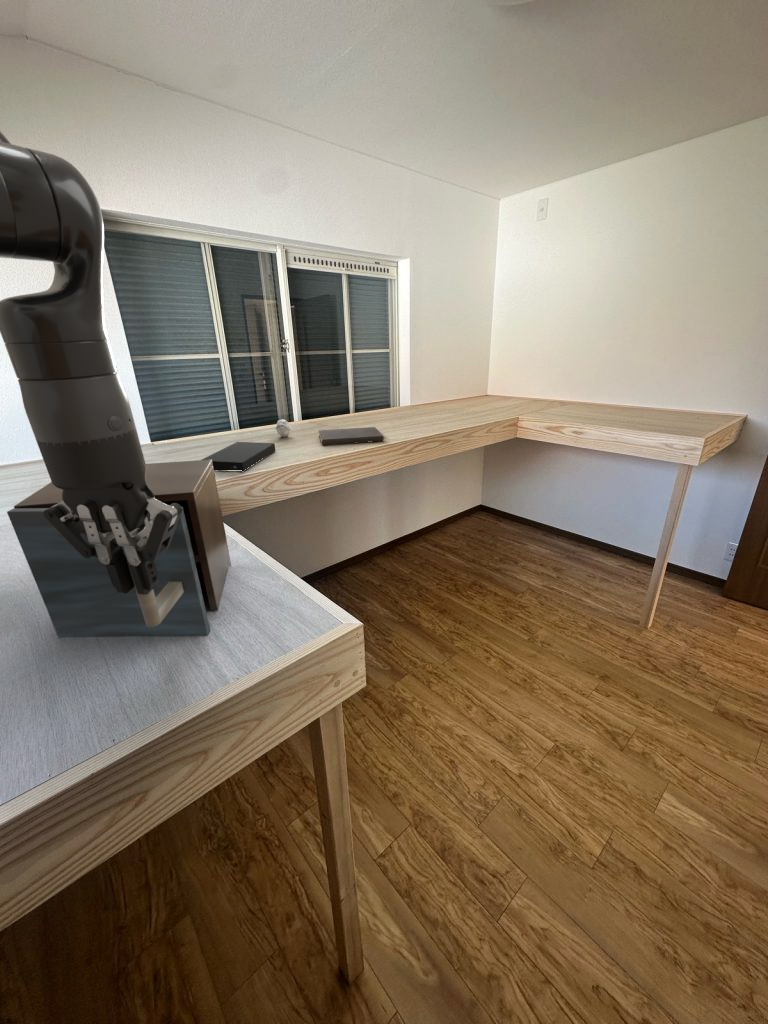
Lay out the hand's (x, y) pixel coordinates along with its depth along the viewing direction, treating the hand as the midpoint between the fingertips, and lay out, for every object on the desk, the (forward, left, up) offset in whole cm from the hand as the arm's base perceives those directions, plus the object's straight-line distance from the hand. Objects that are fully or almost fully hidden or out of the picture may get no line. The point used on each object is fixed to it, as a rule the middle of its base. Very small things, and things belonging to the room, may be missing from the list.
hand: (137, 589), depth 44 cm
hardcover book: (+39, +116, -14) cm, 123 cm away
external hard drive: (0, +96, -14) cm, 97 cm away
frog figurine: (+14, +126, -14) cm, 128 cm away
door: (-6, +5, -13) cm, 16 cm away
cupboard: (-5, +19, -14) cm, 24 cm away
